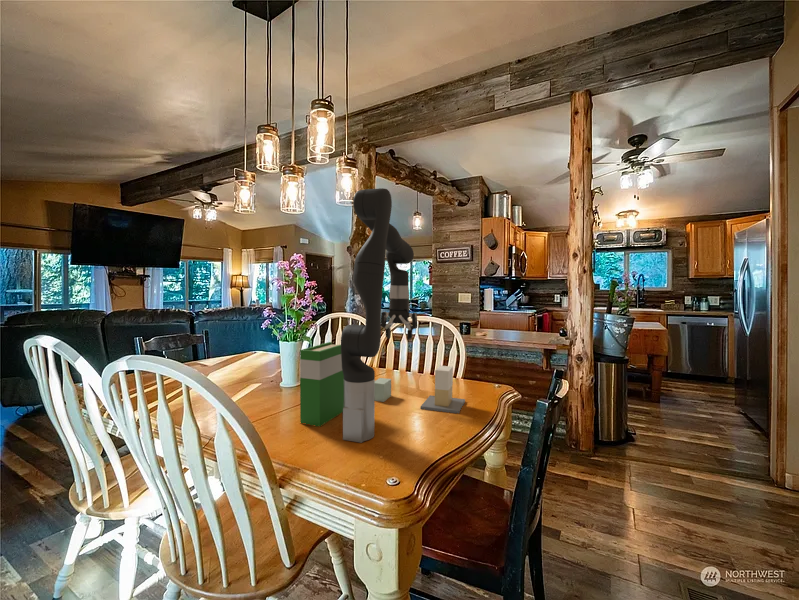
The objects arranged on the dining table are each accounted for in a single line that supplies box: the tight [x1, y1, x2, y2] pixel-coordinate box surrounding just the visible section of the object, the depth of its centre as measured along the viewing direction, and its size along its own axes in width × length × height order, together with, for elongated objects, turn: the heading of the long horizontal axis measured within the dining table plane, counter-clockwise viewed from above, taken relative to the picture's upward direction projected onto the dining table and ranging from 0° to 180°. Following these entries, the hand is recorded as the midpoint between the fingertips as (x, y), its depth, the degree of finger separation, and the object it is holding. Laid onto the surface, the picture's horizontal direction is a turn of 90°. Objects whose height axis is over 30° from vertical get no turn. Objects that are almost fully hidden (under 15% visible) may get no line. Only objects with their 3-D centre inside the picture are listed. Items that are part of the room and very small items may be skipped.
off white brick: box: [434, 365, 454, 390], centre depth 138 cm, size 8×5×7 cm, turn 161°
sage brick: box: [375, 377, 392, 403], centre depth 147 cm, size 8×5×7 cm, turn 161°
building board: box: [420, 385, 466, 415], centre depth 138 cm, size 14×14×7 cm
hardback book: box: [299, 341, 344, 427], centre depth 126 cm, size 18×7×24 cm, turn 159°
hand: (398, 338), depth 143 cm, fingers open, 8 cm apart
